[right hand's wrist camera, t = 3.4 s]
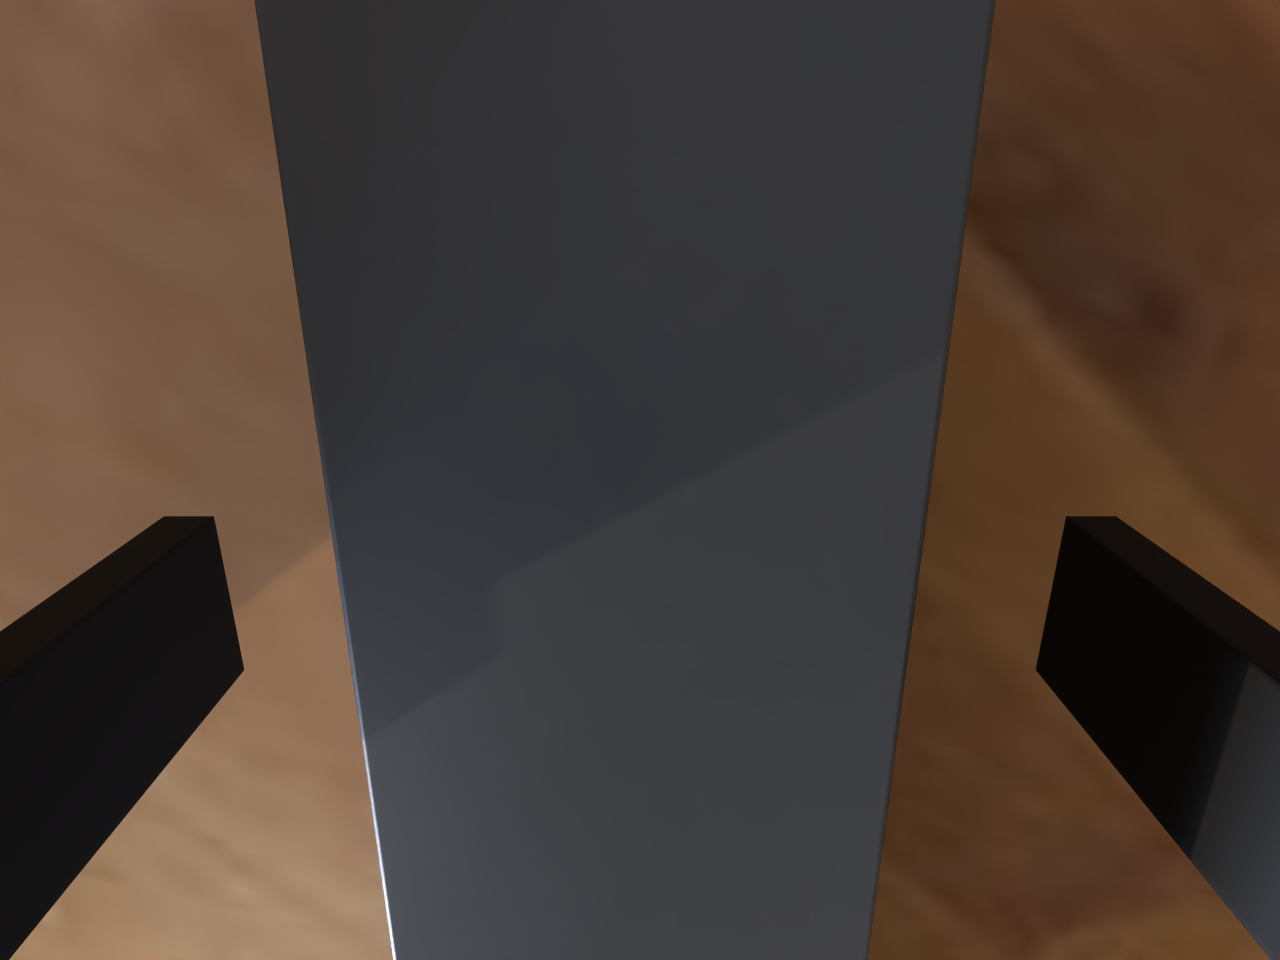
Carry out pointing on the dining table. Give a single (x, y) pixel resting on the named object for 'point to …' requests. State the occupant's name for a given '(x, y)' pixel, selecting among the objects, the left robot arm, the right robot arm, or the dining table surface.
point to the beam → (627, 444)
